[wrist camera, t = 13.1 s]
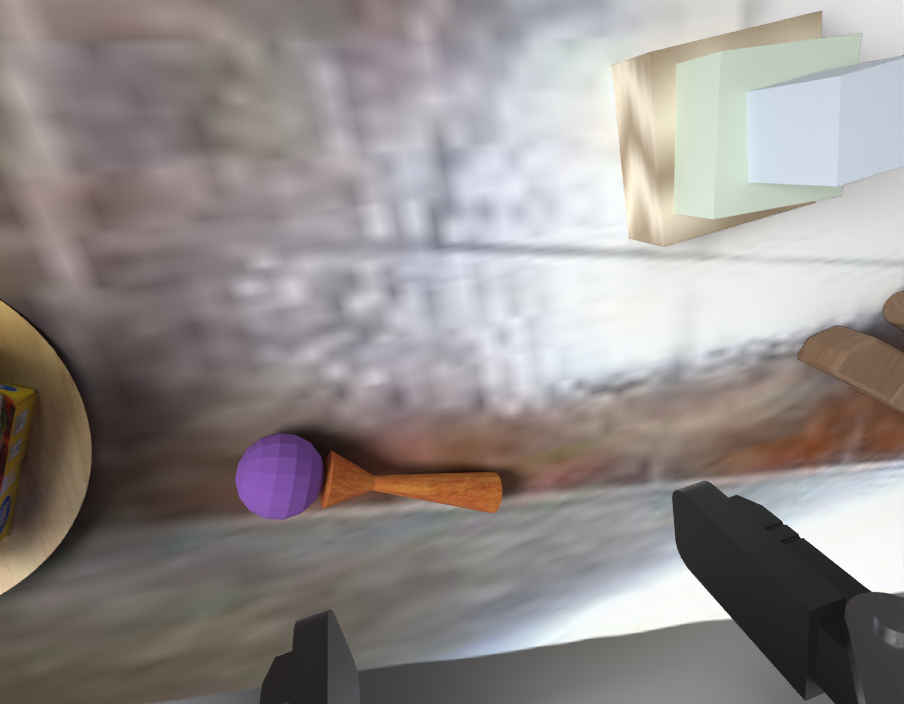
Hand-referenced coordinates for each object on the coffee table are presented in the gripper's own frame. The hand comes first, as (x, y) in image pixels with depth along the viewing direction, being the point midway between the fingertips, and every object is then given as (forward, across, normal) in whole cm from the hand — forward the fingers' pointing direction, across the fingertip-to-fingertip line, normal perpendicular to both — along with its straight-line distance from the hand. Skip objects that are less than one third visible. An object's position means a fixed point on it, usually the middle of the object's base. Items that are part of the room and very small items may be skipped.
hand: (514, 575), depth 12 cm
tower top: (+24, -25, -5) cm, 35 cm away
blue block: (+20, -25, -5) cm, 32 cm away
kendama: (+29, +5, +14) cm, 32 cm away
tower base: (+29, -25, -5) cm, 38 cm away
